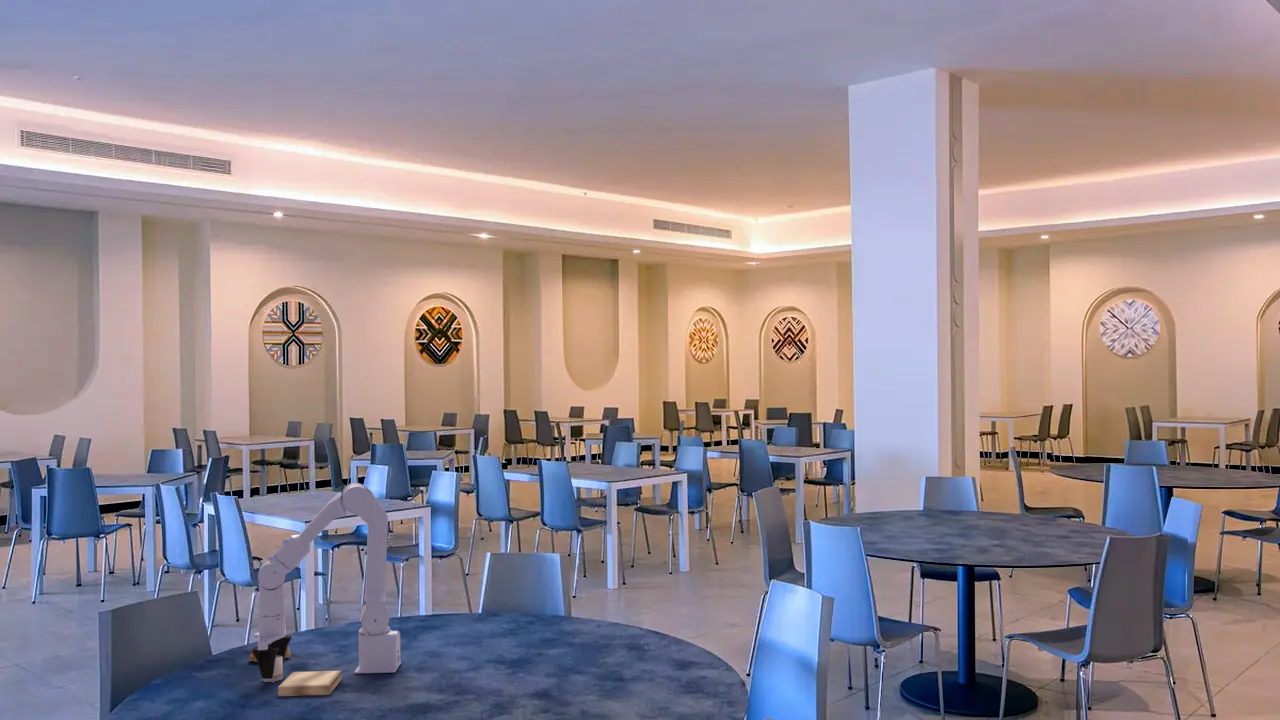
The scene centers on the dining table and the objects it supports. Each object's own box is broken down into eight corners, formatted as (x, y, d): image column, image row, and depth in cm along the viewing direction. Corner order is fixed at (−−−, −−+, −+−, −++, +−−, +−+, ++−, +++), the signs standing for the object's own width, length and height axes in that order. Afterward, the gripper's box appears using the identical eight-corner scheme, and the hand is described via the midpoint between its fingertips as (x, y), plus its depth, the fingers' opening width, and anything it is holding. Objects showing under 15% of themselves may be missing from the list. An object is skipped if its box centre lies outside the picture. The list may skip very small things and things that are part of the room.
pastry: (254, 666, 244) (254, 650, 244) (244, 661, 249) (244, 645, 249) (293, 659, 250) (292, 643, 250) (282, 653, 255) (282, 638, 255)
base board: (341, 679, 232) (341, 670, 232) (329, 694, 221) (329, 685, 221) (292, 680, 232) (292, 671, 232) (278, 696, 221) (278, 686, 221)
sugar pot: (285, 676, 235) (285, 654, 235) (279, 682, 231) (279, 660, 231) (265, 677, 235) (265, 655, 235) (259, 683, 230) (259, 661, 231)
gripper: (264, 607, 240) (264, 664, 240) (243, 622, 226) (244, 683, 225) (294, 606, 240) (295, 663, 240) (275, 621, 226) (276, 682, 226)
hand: (272, 673), depth 233 cm, fingers open, 7 cm apart
